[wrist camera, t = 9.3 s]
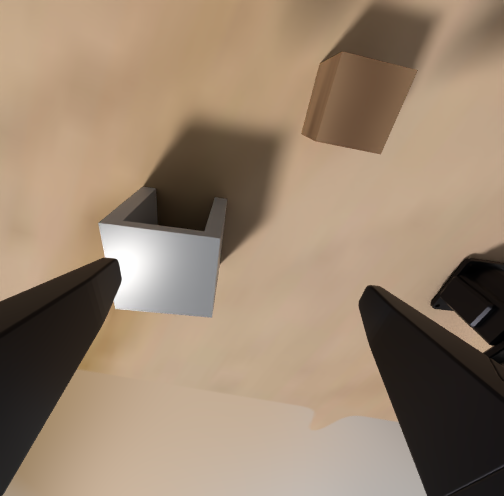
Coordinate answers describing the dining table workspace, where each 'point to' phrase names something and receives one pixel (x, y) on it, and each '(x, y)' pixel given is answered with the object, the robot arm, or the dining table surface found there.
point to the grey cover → (163, 258)
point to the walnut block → (356, 101)
